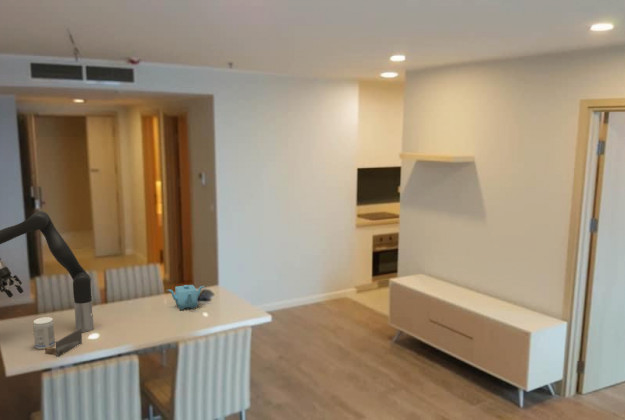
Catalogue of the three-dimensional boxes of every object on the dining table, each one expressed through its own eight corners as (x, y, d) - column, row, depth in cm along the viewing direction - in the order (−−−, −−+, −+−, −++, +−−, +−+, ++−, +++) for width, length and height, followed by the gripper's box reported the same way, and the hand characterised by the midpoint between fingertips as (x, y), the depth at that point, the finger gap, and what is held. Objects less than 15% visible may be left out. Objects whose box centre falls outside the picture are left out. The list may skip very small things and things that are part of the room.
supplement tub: (51, 340, 285) (49, 315, 282) (57, 346, 278) (56, 320, 276) (32, 346, 278) (30, 320, 275) (38, 351, 271) (36, 324, 269)
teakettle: (182, 300, 355) (182, 280, 353) (206, 304, 349) (206, 283, 346) (166, 309, 337) (165, 287, 335) (190, 313, 331) (190, 291, 329)
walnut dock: (43, 354, 268) (42, 339, 266) (67, 341, 285) (67, 327, 284) (58, 356, 265) (57, 342, 264) (82, 343, 283) (81, 329, 281)
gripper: (-5, 269, 272) (13, 294, 273) (13, 263, 286) (30, 287, 287) (-15, 276, 273) (2, 301, 274) (3, 270, 287) (20, 294, 288)
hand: (16, 294), depth 280 cm, fingers open, 8 cm apart
